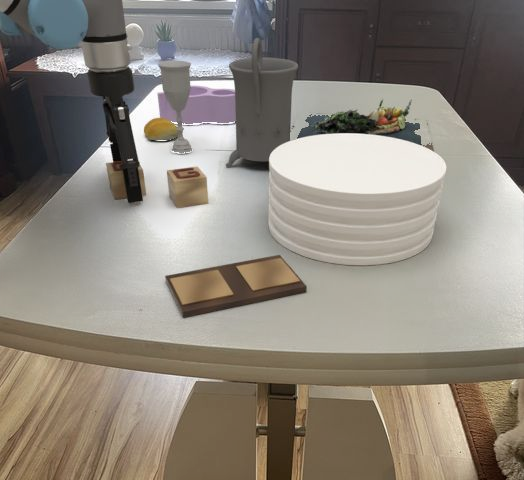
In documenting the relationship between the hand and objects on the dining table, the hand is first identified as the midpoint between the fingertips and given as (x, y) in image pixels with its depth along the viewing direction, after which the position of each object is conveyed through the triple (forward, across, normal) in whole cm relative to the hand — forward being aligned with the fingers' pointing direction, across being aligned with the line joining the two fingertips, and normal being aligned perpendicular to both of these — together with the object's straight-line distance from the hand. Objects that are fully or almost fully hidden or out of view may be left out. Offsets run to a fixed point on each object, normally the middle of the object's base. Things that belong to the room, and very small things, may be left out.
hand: (128, 188), depth 106 cm
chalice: (+1, +20, -16) cm, 26 cm away
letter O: (+1, 0, 0) cm, 1 cm away
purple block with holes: (+1, +43, -27) cm, 51 cm away
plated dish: (+1, +19, -62) cm, 65 cm away
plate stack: (+1, -29, -33) cm, 44 cm away
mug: (+1, +5, -30) cm, 30 cm away
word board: (+1, -41, -8) cm, 42 cm away
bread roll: (+1, +32, -14) cm, 35 cm away
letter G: (+1, -8, -10) cm, 13 cm away
